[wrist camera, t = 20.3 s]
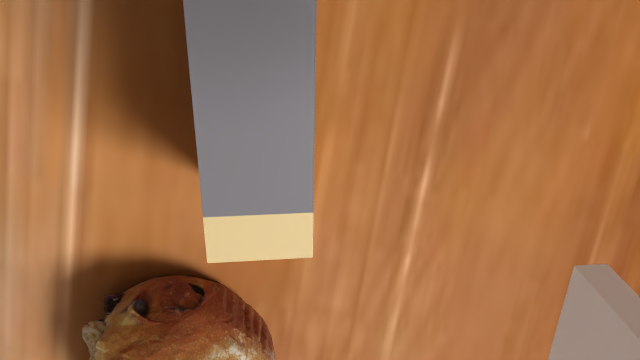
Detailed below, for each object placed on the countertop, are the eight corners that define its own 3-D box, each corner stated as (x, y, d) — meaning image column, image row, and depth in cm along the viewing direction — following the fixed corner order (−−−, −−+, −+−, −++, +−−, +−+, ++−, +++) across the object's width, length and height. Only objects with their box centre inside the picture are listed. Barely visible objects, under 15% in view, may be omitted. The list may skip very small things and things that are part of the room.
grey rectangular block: (297, -213, 20) (320, -270, 13) (297, 177, 27) (312, 257, 21) (186, -219, 19) (156, -280, 13) (217, 180, 26) (207, 262, 20)
